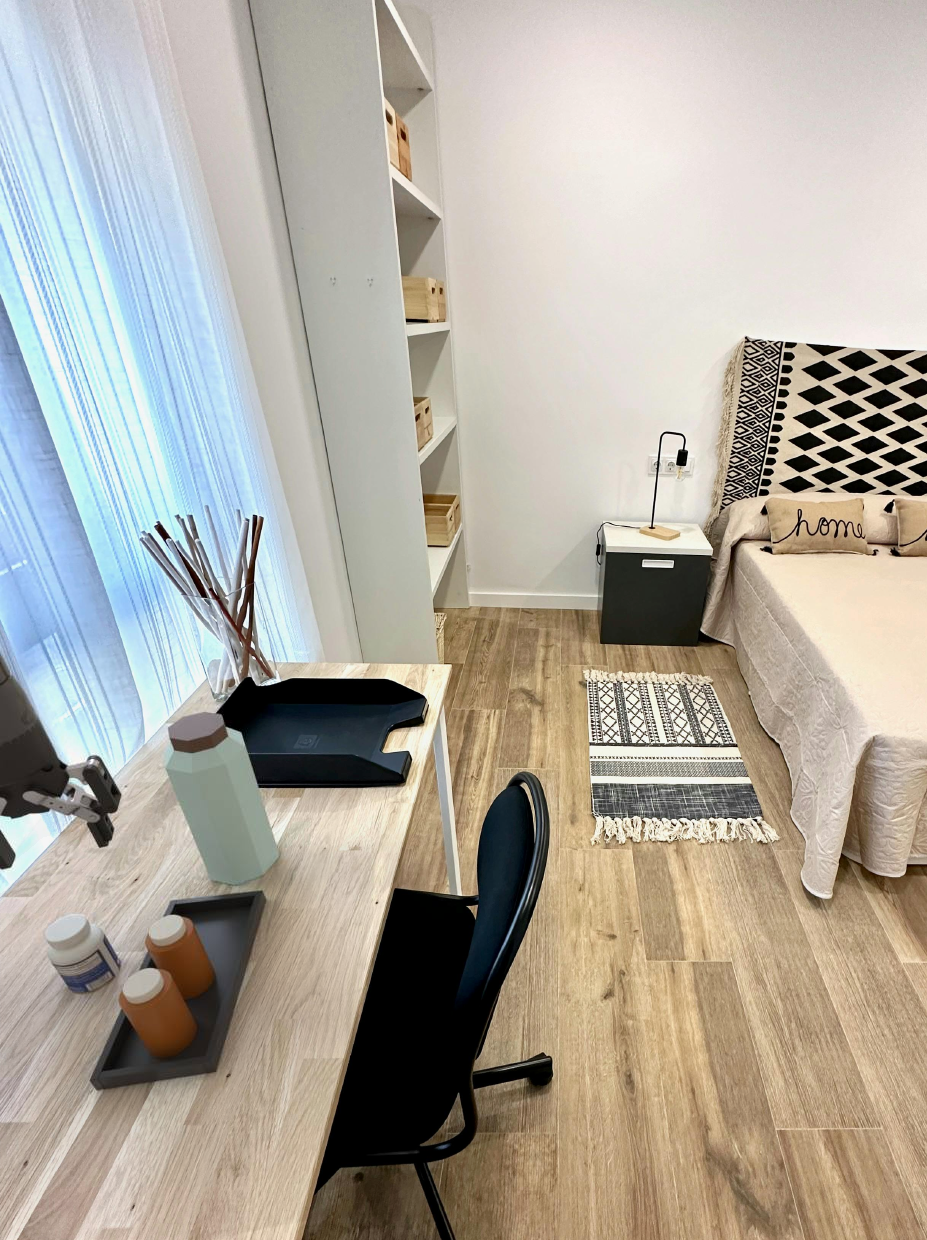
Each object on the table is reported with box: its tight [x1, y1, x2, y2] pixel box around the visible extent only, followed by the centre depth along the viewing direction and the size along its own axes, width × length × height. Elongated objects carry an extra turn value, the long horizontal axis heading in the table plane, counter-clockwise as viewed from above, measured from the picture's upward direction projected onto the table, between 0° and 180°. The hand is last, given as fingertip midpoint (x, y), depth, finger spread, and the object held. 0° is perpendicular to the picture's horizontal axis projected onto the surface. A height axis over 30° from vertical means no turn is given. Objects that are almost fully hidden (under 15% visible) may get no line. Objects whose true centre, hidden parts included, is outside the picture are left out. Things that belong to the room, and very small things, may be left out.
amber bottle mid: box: [144, 915, 215, 1000], centre depth 74 cm, size 5×5×10 cm
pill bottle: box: [44, 913, 122, 995], centre depth 75 cm, size 5×5×10 cm
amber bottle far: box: [118, 968, 197, 1059], centre depth 68 cm, size 5×5×10 cm
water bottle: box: [162, 711, 281, 886], centre depth 87 cm, size 10×10×25 cm
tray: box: [89, 889, 267, 1091], centre depth 76 cm, size 12×24×3 cm, turn 10°
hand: (58, 852), depth 67 cm, fingers open, 8 cm apart
